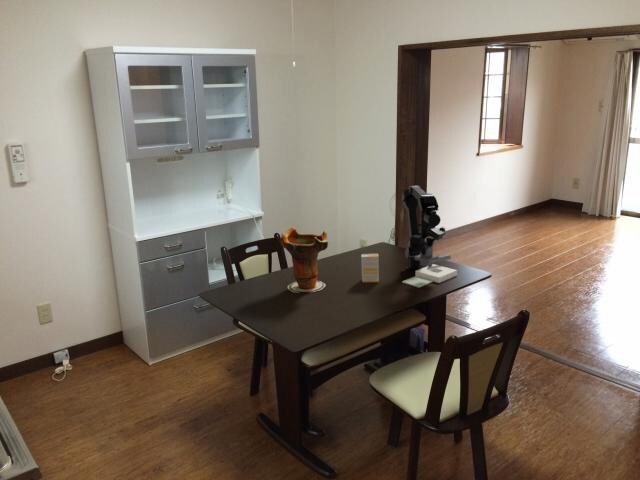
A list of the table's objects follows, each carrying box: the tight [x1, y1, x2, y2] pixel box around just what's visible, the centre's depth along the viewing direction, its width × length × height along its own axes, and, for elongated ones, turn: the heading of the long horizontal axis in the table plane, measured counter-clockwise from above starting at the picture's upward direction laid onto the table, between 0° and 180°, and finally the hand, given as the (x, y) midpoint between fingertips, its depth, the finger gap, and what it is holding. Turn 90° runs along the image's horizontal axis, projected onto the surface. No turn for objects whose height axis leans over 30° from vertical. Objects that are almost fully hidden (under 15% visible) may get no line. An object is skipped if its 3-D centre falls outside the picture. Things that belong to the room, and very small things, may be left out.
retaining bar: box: [430, 254, 452, 266], centre depth 270 cm, size 13×2×4 cm, turn 116°
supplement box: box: [360, 253, 380, 283], centre depth 258 cm, size 8×5×13 cm, turn 84°
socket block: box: [414, 263, 458, 284], centre depth 262 cm, size 14×14×3 cm
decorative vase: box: [279, 226, 329, 294], centre depth 253 cm, size 21×23×28 cm
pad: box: [401, 276, 434, 289], centre depth 255 cm, size 10×10×1 cm
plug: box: [414, 245, 440, 267], centre depth 255 cm, size 8×8×9 cm
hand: (426, 253), depth 254 cm, fingers closed on plug, 4 cm apart
